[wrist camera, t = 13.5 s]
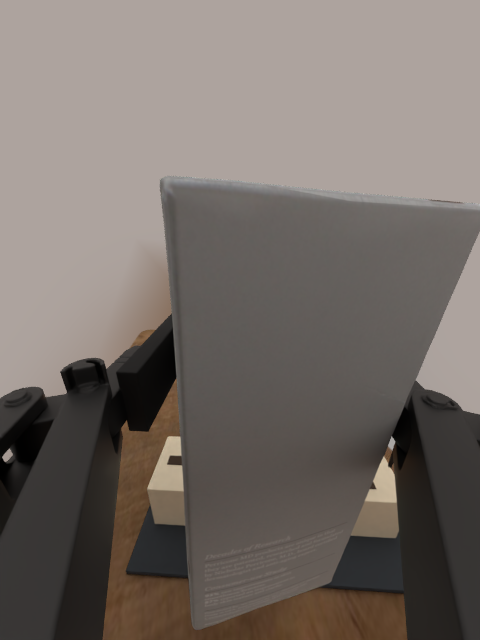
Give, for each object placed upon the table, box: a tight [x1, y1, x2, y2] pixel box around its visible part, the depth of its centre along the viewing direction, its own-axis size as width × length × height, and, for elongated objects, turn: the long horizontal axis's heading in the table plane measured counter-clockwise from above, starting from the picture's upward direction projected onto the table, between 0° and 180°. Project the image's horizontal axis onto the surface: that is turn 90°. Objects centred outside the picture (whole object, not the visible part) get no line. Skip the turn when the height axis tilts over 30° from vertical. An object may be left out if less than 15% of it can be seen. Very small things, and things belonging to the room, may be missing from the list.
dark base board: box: [126, 436, 404, 593], centre depth 21 cm, size 22×11×5 cm, turn 87°
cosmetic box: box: [160, 176, 480, 630], centre depth 10 cm, size 8×7×16 cm
